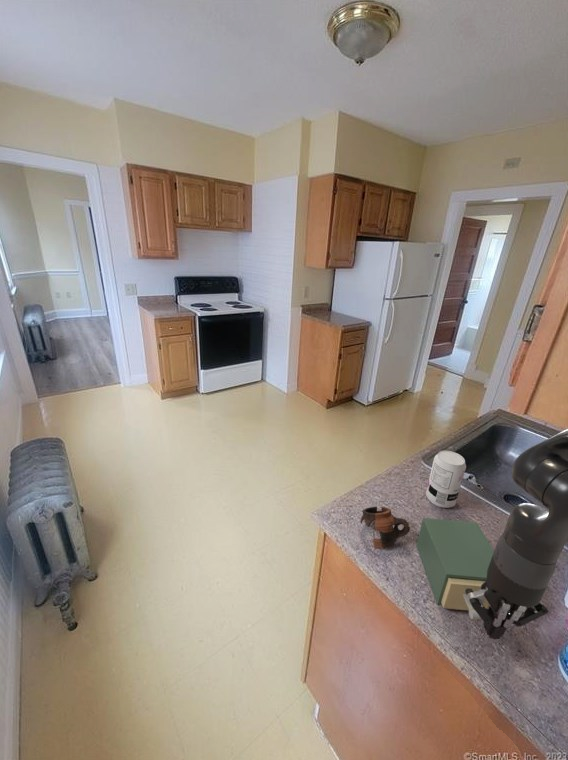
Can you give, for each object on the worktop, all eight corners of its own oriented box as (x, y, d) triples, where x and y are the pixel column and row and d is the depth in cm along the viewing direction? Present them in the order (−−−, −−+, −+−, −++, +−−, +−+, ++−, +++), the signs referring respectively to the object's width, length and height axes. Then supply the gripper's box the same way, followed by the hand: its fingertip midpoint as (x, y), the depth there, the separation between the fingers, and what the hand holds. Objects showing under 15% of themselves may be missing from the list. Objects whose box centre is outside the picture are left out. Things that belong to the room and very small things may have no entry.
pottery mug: (362, 550, 80) (357, 515, 81) (364, 536, 89) (360, 505, 90) (413, 550, 76) (408, 514, 77) (410, 536, 85) (405, 504, 86)
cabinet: (499, 610, 66) (512, 580, 63) (437, 604, 67) (446, 574, 64) (467, 550, 80) (476, 522, 76) (416, 545, 81) (422, 518, 77)
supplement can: (422, 488, 100) (431, 448, 95) (450, 491, 99) (461, 450, 94) (429, 507, 93) (440, 464, 87) (459, 511, 92) (472, 468, 86)
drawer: (514, 638, 61) (525, 613, 58) (452, 632, 61) (460, 607, 59) (470, 555, 77) (478, 532, 75) (422, 551, 78) (427, 528, 75)
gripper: (489, 583, 49) (462, 653, 55) (582, 592, 48) (544, 662, 54) (467, 541, 56) (446, 608, 62) (548, 549, 55) (517, 615, 61)
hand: (491, 633), depth 58 cm, fingers closed
